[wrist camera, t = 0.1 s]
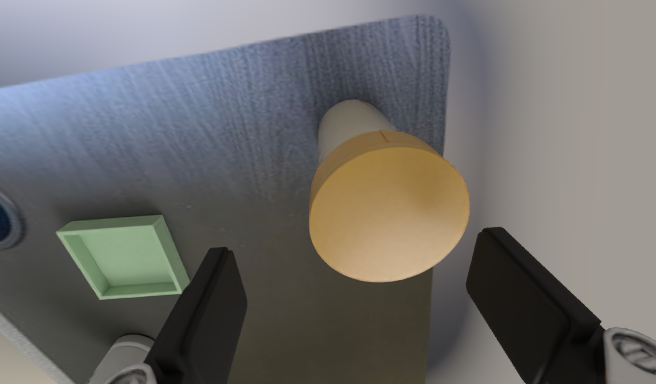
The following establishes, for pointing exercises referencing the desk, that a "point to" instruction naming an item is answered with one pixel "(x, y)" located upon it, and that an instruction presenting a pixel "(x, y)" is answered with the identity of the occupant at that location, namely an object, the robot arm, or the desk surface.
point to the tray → (126, 256)
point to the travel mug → (122, 356)
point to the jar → (348, 124)
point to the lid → (386, 207)
